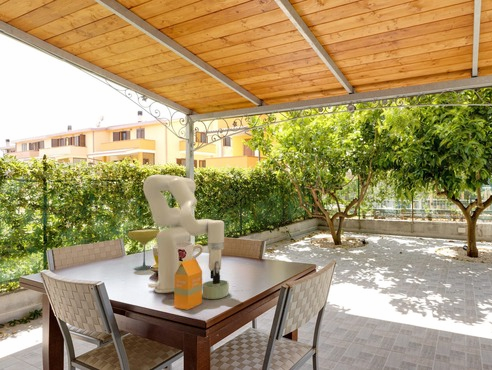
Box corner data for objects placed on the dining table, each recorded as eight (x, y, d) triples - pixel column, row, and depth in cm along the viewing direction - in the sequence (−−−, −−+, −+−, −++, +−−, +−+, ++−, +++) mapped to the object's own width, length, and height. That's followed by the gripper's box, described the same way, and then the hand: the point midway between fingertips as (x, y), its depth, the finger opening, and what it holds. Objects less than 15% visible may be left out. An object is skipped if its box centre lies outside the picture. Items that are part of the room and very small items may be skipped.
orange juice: (174, 307, 139) (174, 261, 140) (188, 300, 147) (189, 257, 148) (188, 309, 136) (188, 263, 137) (202, 303, 145) (202, 259, 145)
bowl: (203, 301, 147) (203, 288, 147) (201, 293, 158) (201, 281, 158) (230, 297, 152) (230, 285, 152) (226, 290, 163) (226, 278, 163)
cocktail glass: (137, 273, 196) (137, 232, 196) (122, 269, 206) (122, 230, 206) (165, 267, 211) (165, 229, 211) (150, 263, 221) (150, 227, 221)
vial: (212, 296, 152) (213, 277, 152) (212, 293, 155) (212, 275, 156) (220, 295, 154) (220, 276, 154) (219, 293, 157) (219, 274, 157)
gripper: (206, 243, 161) (205, 277, 161) (209, 249, 146) (208, 287, 145) (221, 242, 164) (220, 275, 164) (226, 248, 149) (225, 285, 149)
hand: (215, 280), depth 155 cm, fingers open, 9 cm apart
